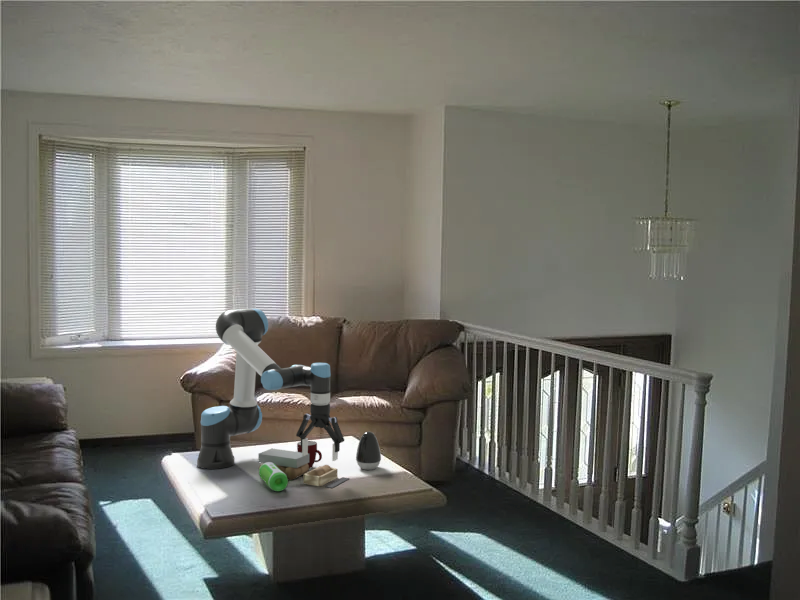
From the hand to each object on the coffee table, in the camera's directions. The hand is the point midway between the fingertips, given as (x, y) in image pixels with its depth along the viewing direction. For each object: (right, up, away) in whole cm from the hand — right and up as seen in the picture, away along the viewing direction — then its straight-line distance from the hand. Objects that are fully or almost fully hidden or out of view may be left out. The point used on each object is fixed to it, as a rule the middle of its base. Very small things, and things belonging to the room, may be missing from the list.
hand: (319, 457), depth 285 cm
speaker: (-17, -10, -6) cm, 21 cm away
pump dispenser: (+18, -8, +17) cm, 26 cm away
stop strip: (+7, -9, -3) cm, 12 cm away
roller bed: (-15, -8, +8) cm, 19 cm away
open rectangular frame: (0, -9, 0) cm, 9 cm away
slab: (-15, -3, +7) cm, 17 cm away
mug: (-6, -8, +18) cm, 21 cm away
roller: (0, -9, 0) cm, 9 cm away
